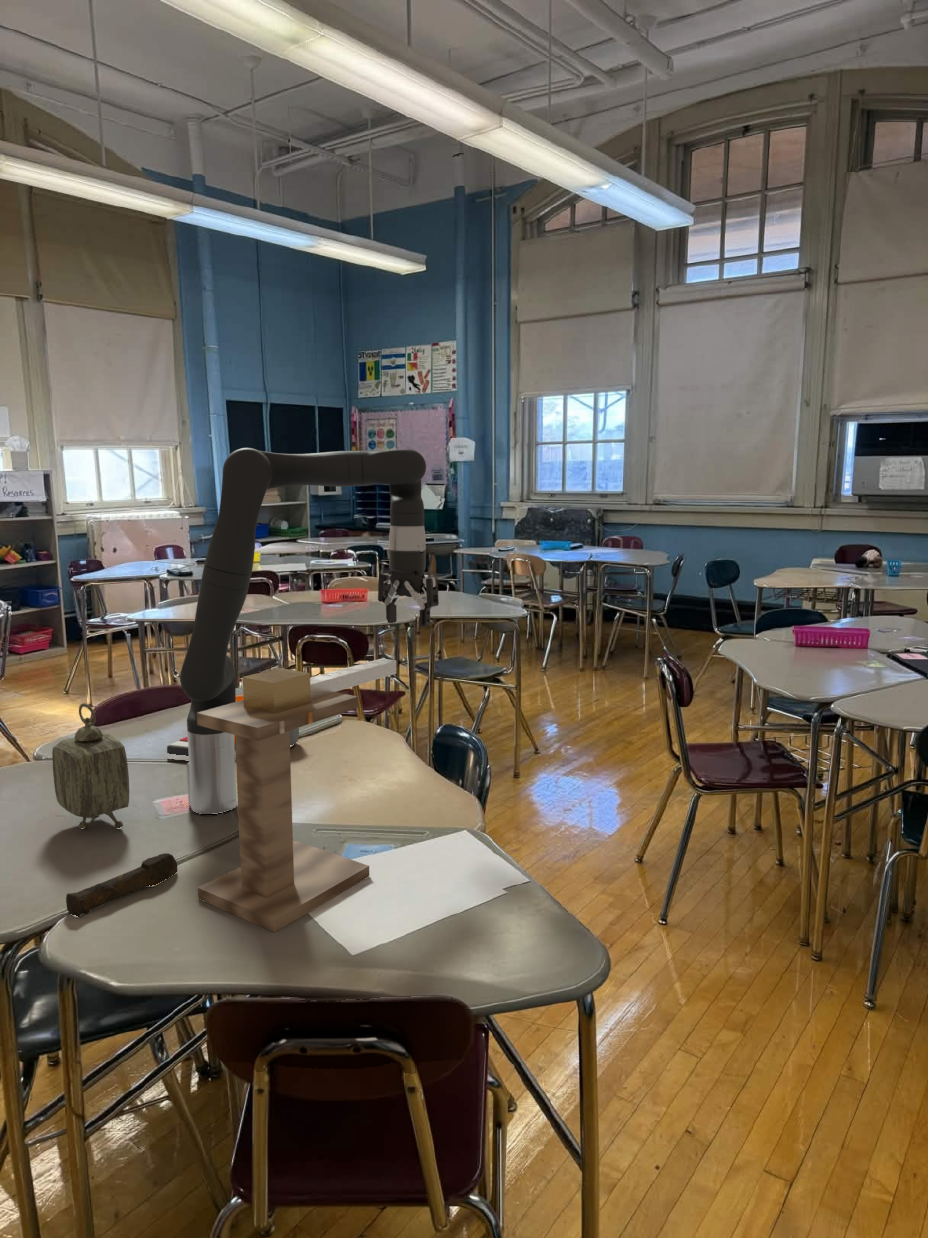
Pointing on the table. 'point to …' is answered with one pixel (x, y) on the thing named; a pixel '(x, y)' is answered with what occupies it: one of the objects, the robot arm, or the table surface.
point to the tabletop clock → (91, 773)
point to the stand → (274, 820)
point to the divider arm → (306, 685)
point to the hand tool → (122, 884)
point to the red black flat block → (179, 747)
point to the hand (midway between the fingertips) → (407, 624)
